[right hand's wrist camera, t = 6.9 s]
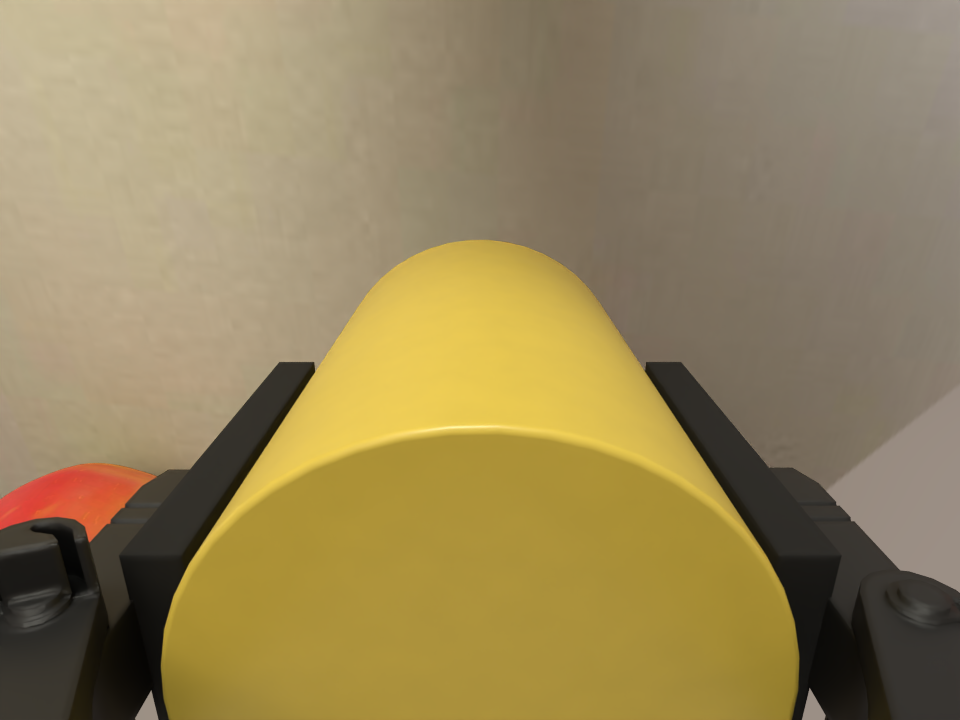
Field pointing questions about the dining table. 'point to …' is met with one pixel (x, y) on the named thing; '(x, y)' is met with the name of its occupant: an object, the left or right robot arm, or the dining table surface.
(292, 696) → the canister
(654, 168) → the dining table surface
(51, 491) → the apple
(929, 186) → the dining table surface
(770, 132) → the dining table surface
